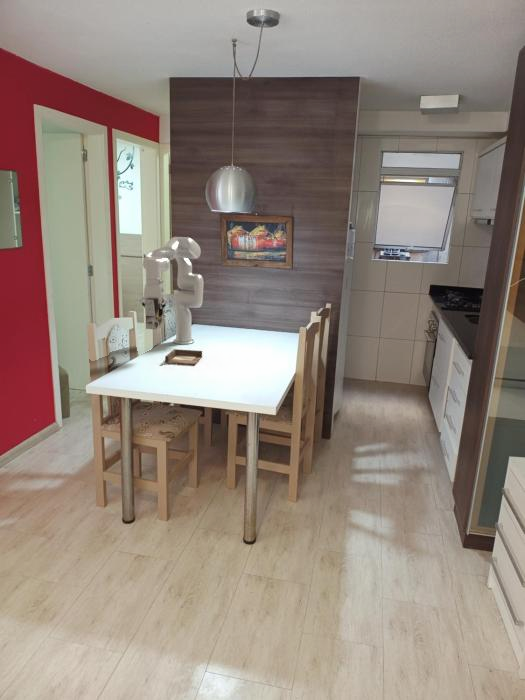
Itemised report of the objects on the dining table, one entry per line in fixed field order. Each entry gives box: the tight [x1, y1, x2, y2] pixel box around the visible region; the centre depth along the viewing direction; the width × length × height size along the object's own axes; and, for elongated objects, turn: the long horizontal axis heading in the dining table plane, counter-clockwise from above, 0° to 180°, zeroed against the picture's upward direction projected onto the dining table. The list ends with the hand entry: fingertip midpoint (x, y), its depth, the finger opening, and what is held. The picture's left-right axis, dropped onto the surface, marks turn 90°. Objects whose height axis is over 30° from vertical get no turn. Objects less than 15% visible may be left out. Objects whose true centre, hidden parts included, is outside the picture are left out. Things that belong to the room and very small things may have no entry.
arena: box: [164, 348, 203, 367], centre depth 285 cm, size 16×16×4 cm
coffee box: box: [144, 299, 164, 331], centre depth 280 cm, size 9×6×16 cm
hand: (154, 315), depth 281 cm, fingers closed on coffee box, 6 cm apart
